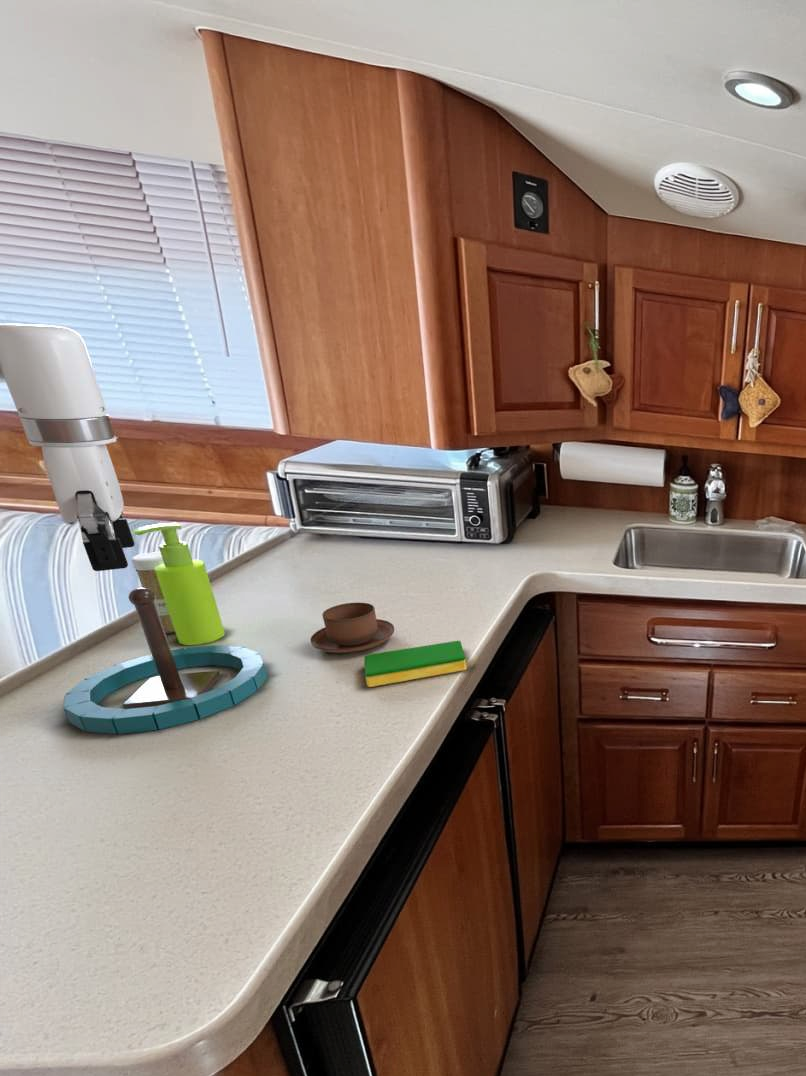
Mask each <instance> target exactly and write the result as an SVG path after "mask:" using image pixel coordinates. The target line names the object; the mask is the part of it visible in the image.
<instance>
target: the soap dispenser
mask: <svg viewBox="0 0 806 1076" xmlns="http://www.w3.org/2000/svg"><path fill="white" fill-rule="evenodd" d="M177 530H182V526H181V524H179V523H178V522H165V523H155V524H149V525H145V526H141V527H138V528H135V529H132V530H131V533H133V534H134V535H137V536H142V535H144V534H148V533H154V532H161V535H162V538H163V541H164V542H163V543H161V544H159V546H158V548H159V552H161V556H162V559H163V562H164V563H163V564H160V565H158V566H156V567H155V572H156V575H157V578H158V581H159V584H160V587H161V590H162V593H163V596H164V599H165V602H166V605H167V608H168V611H169V614H170V617H171V620H172V623H173V626H174V629H175V632H174V633H175V635H176V638H177V641H178V643H179V644H181V645H184V646H197V645H203V644H208V643H212V642H215V641H217V640H220V639H221V638H223V637H224V636H225V635H226V633H225V628H224V626H223V622H222V619H221V618H222V617H221V614H220V611H219V609H218V605H217V602H216V601H217V600H216V598H215V595H214V592H213V588H212V584H211V582H210V578H209V575H208V571H207V568H206V565H205V562H204V561H203V560H201V559H193V557H192V554H191V550H190V547H189V544H188V543H187V542H185V541H182V540H180V538H179V536H178V532H177Z"/></svg>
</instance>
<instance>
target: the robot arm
mask: <svg viewBox="0 0 806 1076" xmlns="http://www.w3.org/2000/svg"><path fill="white" fill-rule="evenodd" d="M0 383H6V386H7V388H8V391H9V393H10V396H11V398H12V401H13V403H14V406H15V409H16V411H17V414H18V416H19V420H20V422H21V424H22V427H23V430H24V432H25V435H26V438H27V441H28V443H29V445H31V446H35V447H40V448H41V451H42V457H43V461H44V466H45V469H46V472H47V476H48V479H49V482H50V486H51V488H52V489H51V490H52V491H53V495H54V499H55V502H56V504H57V508H58V510H59V514H60V517H61V519H62V522H63V523H64V524H66V525H68V526H73V525H74V524H75V523H76V522H77V520H78V524H79V528H80V529H79V530H80V535H81V538H82V539H81V540H82V545H83V547H84V550H85V553H86V555H87V557H88V561H89V563H90V565H91V568H92V570H93V571H94V572H103V571H110V570H111V571H113V570H121V569H126V568H127V567H128V566H129V563H128V560H127V558H126V555H125V552H124V551H125V550H124V549H126V548H133V547H135V545H136V544H135V539H134V538H133V535H132V530H131V529H130V526H129V522H128V520H127V518H125V514H124V512H123V510H124V506H125V503H124V498H123V494H122V490H121V487H120V483H119V479H118V477H117V474H116V470H115V468H114V464H113V461H112V458H111V456H110V453H109V450H108V447H107V445H108V444H113V443H116V442H117V440H118V439H117V437H116V435H115V431H114V429H113V425H112V422H111V420H110V415H109V413H108V411H107V410H108V409H107V406H106V404H105V401H104V398H103V394H102V392H101V389H100V386H99V385H100V384H99V382H98V380H97V376H96V374H95V371H94V367H93V365H92V361H91V358H90V355H89V352H88V349H87V346H86V343H85V341H84V339H83V338H82V336H81V335H80V334H79V332H76V331H75V330H74V329H71V328H68V327H65V326H58V325H48V324H34V323H33V324H32V323H29V324H28V323H0Z"/></svg>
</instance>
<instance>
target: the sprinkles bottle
mask: <svg viewBox="0 0 806 1076" xmlns="http://www.w3.org/2000/svg"><path fill="white" fill-rule="evenodd" d="M131 562H132V566H133V569H134V570H135V572H137V577H138V579H139V582H140V588H147V589H150V590H152V591H153V592H154V593H155V596H156V599H155V601H154V602H155V605H156V608H157V611H158V614H159V617H160V619H161V622H162V625H163V628H164V631H165V634H173V633H176V632H175V629H174V626H173V623H172V620H171V617H170V614H169V611H168V608H167V605H166V602H165V599H164V596H163V593H162V590H161V587H160V584H159V581H158V578H157V575H156V572H155V567H156V566H158V565H160V564H163V563H164V562H163V559H162V556H161V552H160V551H151V552H144V553H139V554H137V555H136V554H135V555H134V556H132V558H131Z"/></svg>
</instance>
